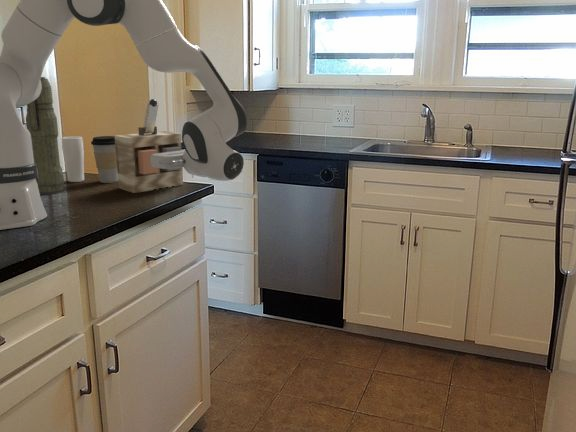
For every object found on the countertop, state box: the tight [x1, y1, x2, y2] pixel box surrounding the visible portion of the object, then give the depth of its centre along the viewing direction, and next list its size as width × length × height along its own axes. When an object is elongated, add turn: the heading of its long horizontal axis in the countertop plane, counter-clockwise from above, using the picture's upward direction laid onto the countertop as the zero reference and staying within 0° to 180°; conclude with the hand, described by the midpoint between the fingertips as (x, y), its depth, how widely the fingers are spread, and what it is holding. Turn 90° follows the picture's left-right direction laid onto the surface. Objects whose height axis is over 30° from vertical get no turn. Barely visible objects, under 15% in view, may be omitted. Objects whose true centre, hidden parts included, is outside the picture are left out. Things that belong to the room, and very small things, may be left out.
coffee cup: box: [90, 135, 118, 184], centre depth 192 cm, size 9×9×15 cm
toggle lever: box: [142, 98, 159, 134], centre depth 177 cm, size 3×2×12 cm
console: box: [114, 125, 184, 194], centre depth 182 cm, size 18×10×19 cm, turn 133°
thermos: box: [25, 76, 65, 195], centre depth 174 cm, size 9×12×35 cm
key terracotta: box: [136, 149, 158, 174], centre depth 176 cm, size 5×7×7 cm
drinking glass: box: [61, 135, 85, 183], centre depth 192 cm, size 7×7×15 cm
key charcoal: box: [162, 146, 183, 171], centre depth 182 cm, size 5×7×7 cm
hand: (171, 154), depth 165 cm, fingers closed
